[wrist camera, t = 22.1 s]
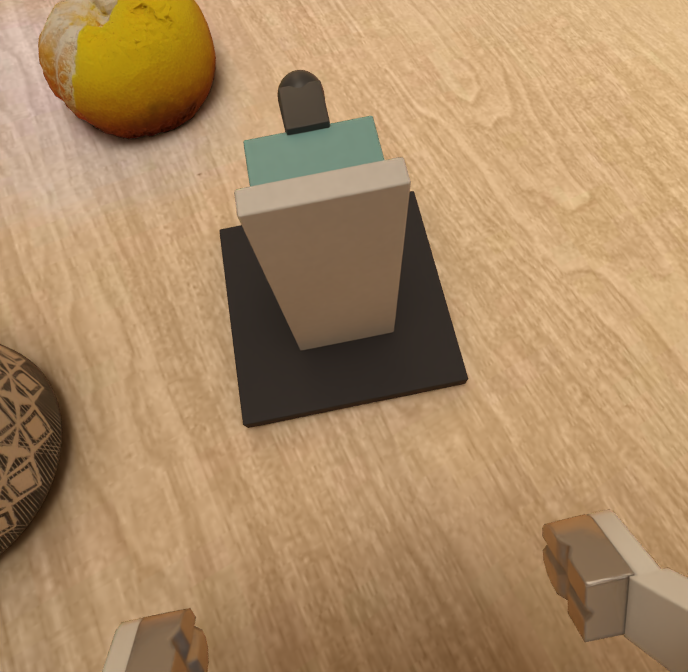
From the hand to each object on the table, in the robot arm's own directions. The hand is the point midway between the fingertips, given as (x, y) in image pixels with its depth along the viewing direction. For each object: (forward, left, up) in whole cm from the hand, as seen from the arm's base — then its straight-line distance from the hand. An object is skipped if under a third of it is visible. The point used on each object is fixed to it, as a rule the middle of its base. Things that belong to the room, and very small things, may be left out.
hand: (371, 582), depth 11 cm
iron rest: (+12, -5, -14) cm, 19 cm away
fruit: (+34, -2, -14) cm, 37 cm away
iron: (+12, -5, -13) cm, 18 cm away
